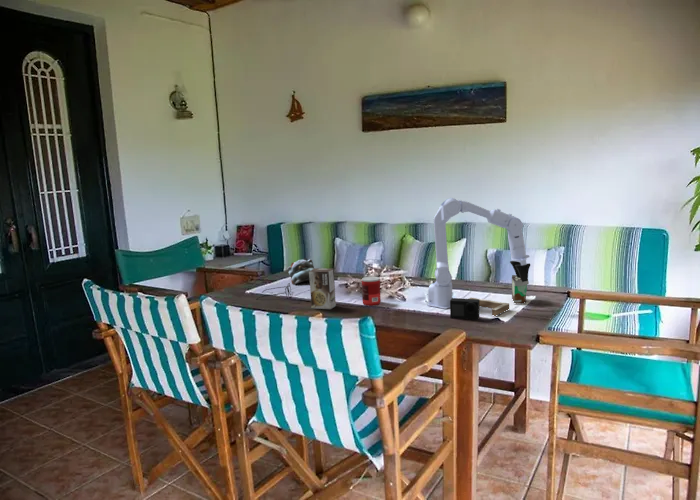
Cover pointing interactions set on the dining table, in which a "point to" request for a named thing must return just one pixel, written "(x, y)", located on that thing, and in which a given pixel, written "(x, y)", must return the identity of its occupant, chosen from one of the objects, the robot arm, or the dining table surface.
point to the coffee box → (322, 288)
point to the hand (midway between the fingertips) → (522, 279)
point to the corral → (493, 306)
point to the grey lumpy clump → (300, 270)
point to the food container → (519, 289)
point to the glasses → (280, 293)
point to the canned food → (371, 291)
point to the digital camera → (464, 308)
